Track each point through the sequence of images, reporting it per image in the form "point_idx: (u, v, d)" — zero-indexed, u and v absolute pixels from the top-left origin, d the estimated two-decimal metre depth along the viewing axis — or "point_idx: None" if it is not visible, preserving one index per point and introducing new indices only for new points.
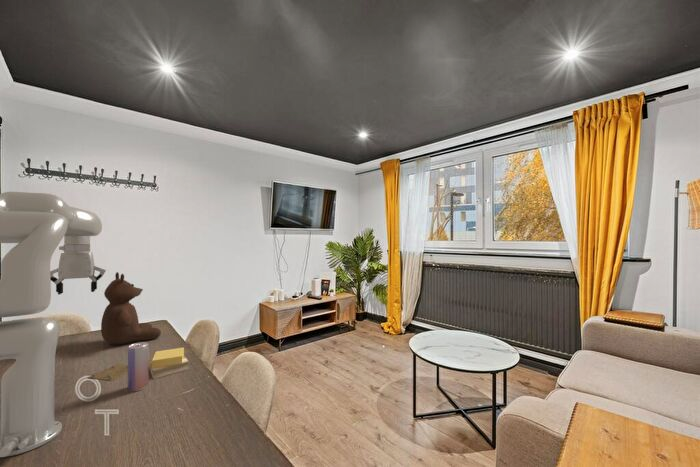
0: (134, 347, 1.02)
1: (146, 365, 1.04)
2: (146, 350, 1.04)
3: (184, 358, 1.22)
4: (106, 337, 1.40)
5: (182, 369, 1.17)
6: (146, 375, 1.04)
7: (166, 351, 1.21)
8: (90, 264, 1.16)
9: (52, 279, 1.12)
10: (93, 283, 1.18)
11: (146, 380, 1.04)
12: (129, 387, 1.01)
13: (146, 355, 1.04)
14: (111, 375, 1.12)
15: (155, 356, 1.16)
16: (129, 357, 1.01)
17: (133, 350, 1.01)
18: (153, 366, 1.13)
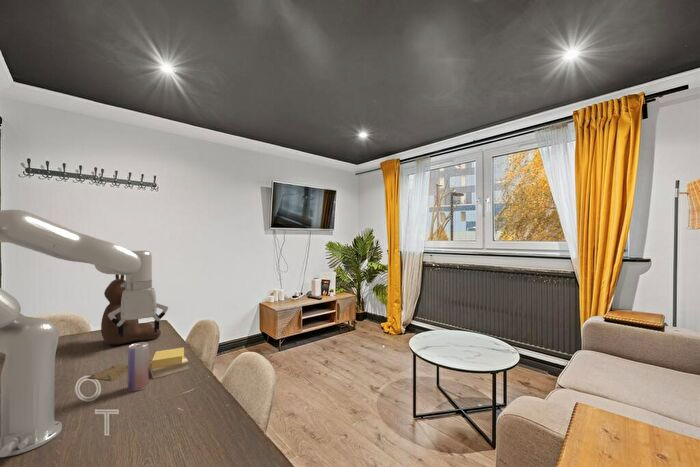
0: (134, 347, 1.02)
1: (146, 365, 1.04)
2: (146, 350, 1.04)
3: (184, 358, 1.22)
4: (106, 337, 1.40)
5: (182, 369, 1.17)
6: (146, 375, 1.04)
7: (166, 351, 1.21)
8: (153, 302, 1.05)
9: (114, 321, 1.00)
10: (156, 323, 1.06)
11: (146, 380, 1.04)
12: (129, 387, 1.01)
13: (146, 355, 1.04)
14: (111, 375, 1.12)
15: (155, 356, 1.16)
16: (129, 357, 1.01)
17: (133, 350, 1.01)
18: (153, 366, 1.13)
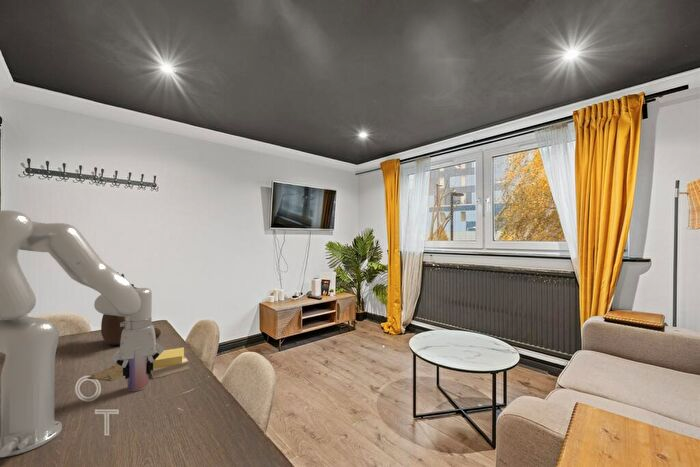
0: None
1: (146, 365, 1.04)
2: None
3: (184, 358, 1.22)
4: (106, 337, 1.40)
5: (182, 369, 1.17)
6: (146, 375, 1.04)
7: (166, 351, 1.21)
8: (153, 340, 1.04)
9: (119, 362, 1.01)
10: (150, 364, 1.05)
11: (146, 380, 1.04)
12: (129, 387, 1.01)
13: None
14: (111, 375, 1.12)
15: None
16: None
17: None
18: (153, 366, 1.13)
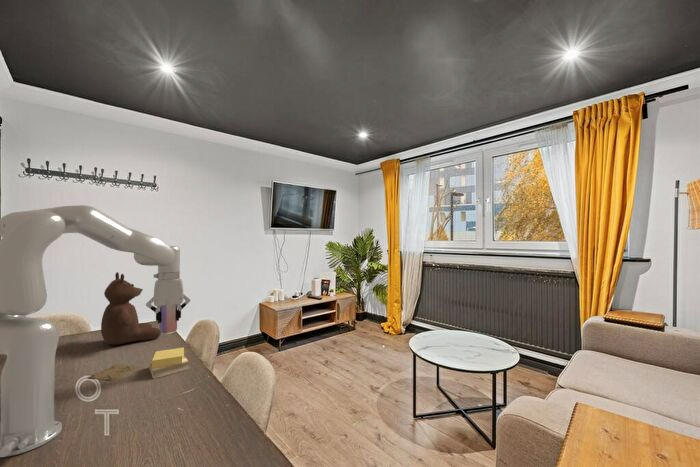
0: None
1: (175, 312, 1.19)
2: None
3: (184, 358, 1.22)
4: (106, 337, 1.40)
5: (182, 369, 1.17)
6: (175, 321, 1.19)
7: (166, 351, 1.21)
8: (181, 291, 1.19)
9: (152, 308, 1.16)
10: (179, 312, 1.20)
11: (175, 325, 1.19)
12: (161, 330, 1.16)
13: None
14: (111, 375, 1.12)
15: (155, 356, 1.16)
16: None
17: None
18: (153, 366, 1.13)
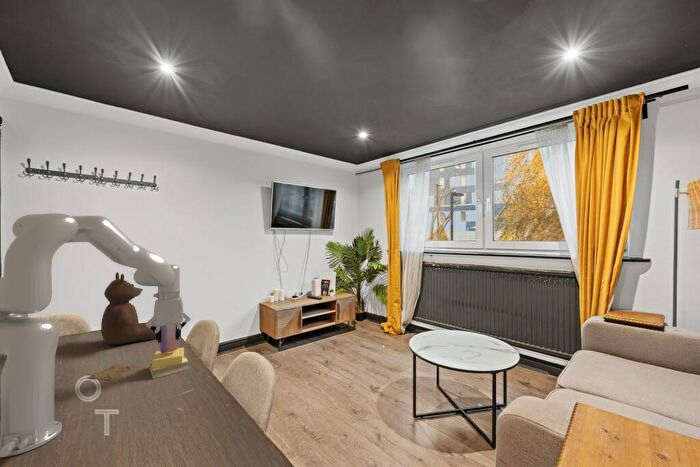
0: None
1: (175, 331, 1.19)
2: None
3: (184, 358, 1.22)
4: (106, 337, 1.40)
5: (182, 369, 1.17)
6: (175, 340, 1.19)
7: None
8: (181, 310, 1.19)
9: (152, 328, 1.16)
10: (179, 331, 1.20)
11: (175, 344, 1.19)
12: (161, 350, 1.16)
13: None
14: (111, 375, 1.12)
15: (155, 356, 1.16)
16: None
17: None
18: (153, 366, 1.13)
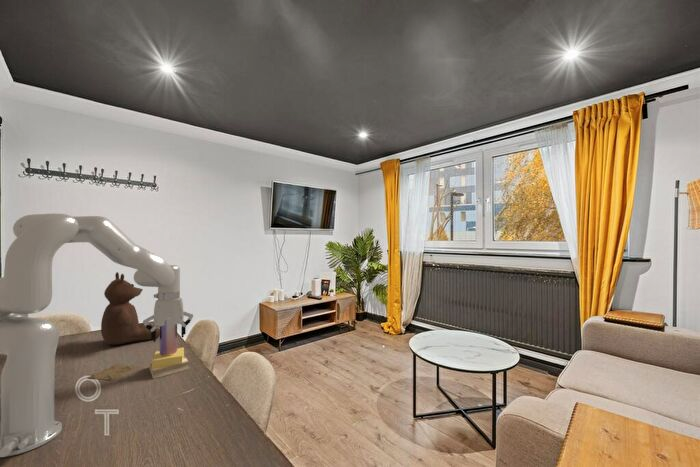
0: None
1: (175, 334, 1.19)
2: None
3: (184, 358, 1.22)
4: (106, 337, 1.40)
5: (182, 369, 1.17)
6: (175, 343, 1.19)
7: None
8: (181, 310, 1.19)
9: (148, 327, 1.15)
10: (183, 328, 1.21)
11: (175, 347, 1.19)
12: (161, 352, 1.16)
13: (175, 325, 1.19)
14: (111, 375, 1.12)
15: (155, 356, 1.16)
16: (161, 326, 1.16)
17: None
18: (153, 366, 1.13)
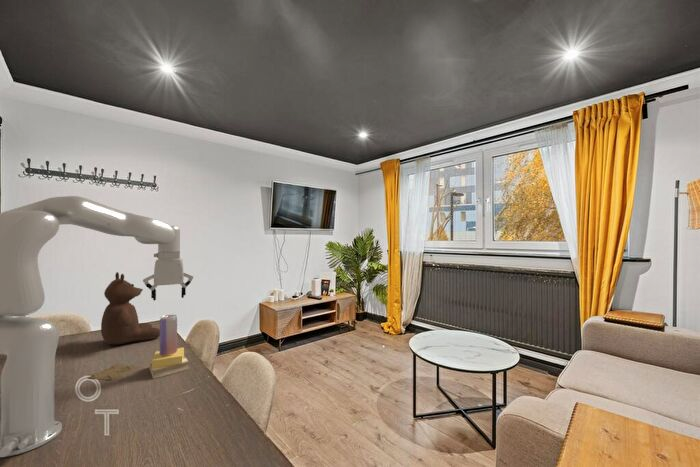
0: (165, 318, 1.17)
1: (175, 334, 1.19)
2: (175, 321, 1.19)
3: (184, 358, 1.22)
4: (106, 337, 1.40)
5: (182, 369, 1.17)
6: (175, 343, 1.19)
7: None
8: (181, 271, 1.19)
9: (148, 286, 1.15)
10: (183, 289, 1.21)
11: (175, 347, 1.19)
12: (161, 352, 1.16)
13: (175, 325, 1.19)
14: (112, 375, 1.12)
15: (155, 356, 1.16)
16: (161, 326, 1.16)
17: (164, 320, 1.16)
18: (153, 366, 1.13)
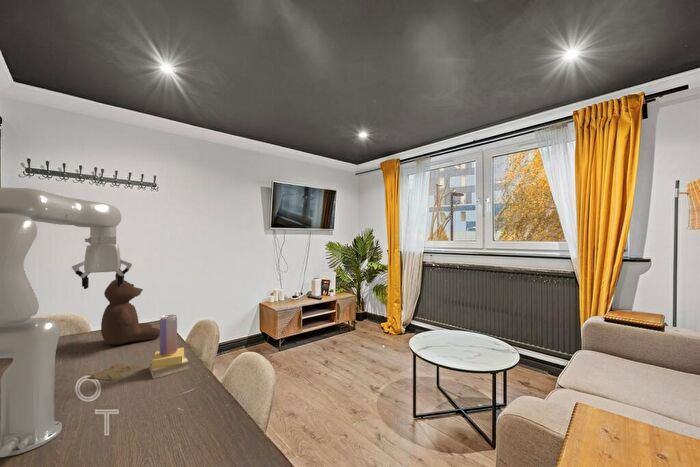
0: (165, 318, 1.17)
1: (175, 334, 1.19)
2: (175, 321, 1.19)
3: (184, 358, 1.22)
4: (106, 337, 1.40)
5: (182, 369, 1.17)
6: (175, 343, 1.19)
7: None
8: (117, 257, 1.10)
9: (78, 273, 1.06)
10: (120, 277, 1.12)
11: (175, 347, 1.19)
12: (161, 352, 1.16)
13: (175, 325, 1.19)
14: (112, 375, 1.12)
15: (155, 356, 1.16)
16: (161, 326, 1.16)
17: (164, 320, 1.16)
18: (153, 366, 1.13)
